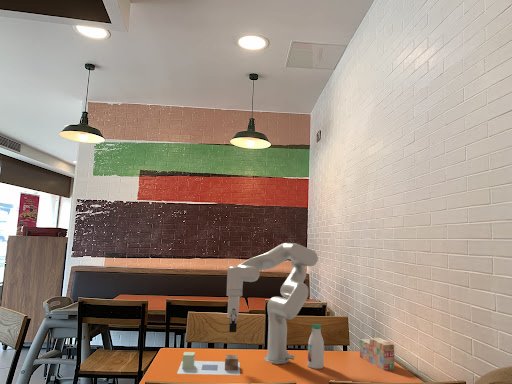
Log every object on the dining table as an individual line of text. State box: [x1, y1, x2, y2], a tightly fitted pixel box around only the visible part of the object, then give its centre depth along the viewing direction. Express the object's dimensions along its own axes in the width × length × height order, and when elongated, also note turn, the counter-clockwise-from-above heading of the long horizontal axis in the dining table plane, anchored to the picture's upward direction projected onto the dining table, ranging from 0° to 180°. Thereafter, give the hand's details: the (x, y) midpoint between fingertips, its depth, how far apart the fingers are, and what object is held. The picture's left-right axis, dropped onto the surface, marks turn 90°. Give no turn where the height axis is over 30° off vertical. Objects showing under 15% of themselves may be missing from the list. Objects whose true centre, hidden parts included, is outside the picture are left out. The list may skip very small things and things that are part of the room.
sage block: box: [182, 351, 196, 369], centre depth 181 cm, size 5×5×6 cm
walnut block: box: [224, 354, 239, 370], centre depth 182 cm, size 6×6×5 cm
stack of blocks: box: [359, 337, 395, 371], centre depth 202 cm, size 21×6×12 cm, turn 18°
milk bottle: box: [307, 323, 325, 370], centre depth 192 cm, size 8×8×20 cm
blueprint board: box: [176, 360, 241, 376], centre depth 182 cm, size 28×18×1 cm, turn 93°
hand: (232, 329), depth 184 cm, fingers open, 9 cm apart
